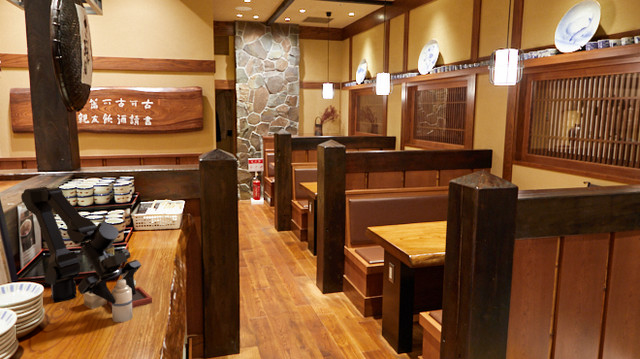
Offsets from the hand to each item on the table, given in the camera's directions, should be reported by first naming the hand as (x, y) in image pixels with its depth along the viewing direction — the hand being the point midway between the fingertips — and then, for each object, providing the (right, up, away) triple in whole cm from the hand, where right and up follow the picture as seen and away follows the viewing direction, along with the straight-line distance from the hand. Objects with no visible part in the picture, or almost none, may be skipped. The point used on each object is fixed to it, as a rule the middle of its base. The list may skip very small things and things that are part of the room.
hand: (124, 298), depth 130 cm
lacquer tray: (-5, -5, +13) cm, 15 cm away
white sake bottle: (-1, -6, +2) cm, 7 cm away
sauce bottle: (-22, -1, +32) cm, 39 cm away
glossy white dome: (-11, -3, +26) cm, 28 cm away
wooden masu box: (-14, -5, +10) cm, 18 cm away
